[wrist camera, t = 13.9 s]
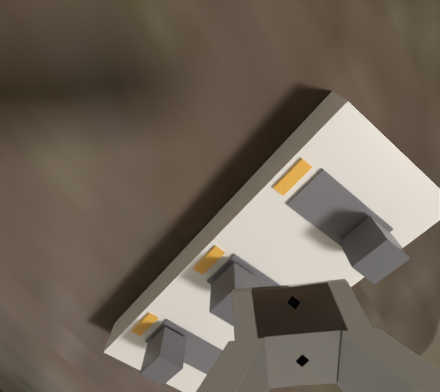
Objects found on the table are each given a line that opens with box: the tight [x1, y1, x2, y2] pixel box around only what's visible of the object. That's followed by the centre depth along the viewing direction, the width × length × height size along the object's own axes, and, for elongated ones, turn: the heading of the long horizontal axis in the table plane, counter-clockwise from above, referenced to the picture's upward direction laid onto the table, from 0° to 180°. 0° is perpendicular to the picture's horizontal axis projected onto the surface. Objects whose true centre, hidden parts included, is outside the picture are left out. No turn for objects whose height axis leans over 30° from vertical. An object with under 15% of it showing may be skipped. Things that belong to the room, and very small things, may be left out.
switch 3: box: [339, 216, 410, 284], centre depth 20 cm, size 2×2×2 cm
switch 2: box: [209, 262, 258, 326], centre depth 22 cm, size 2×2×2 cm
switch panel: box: [104, 91, 440, 392], centre depth 25 cm, size 26×10×3 cm, turn 141°
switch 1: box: [140, 327, 187, 385], centre depth 25 cm, size 2×2×2 cm
